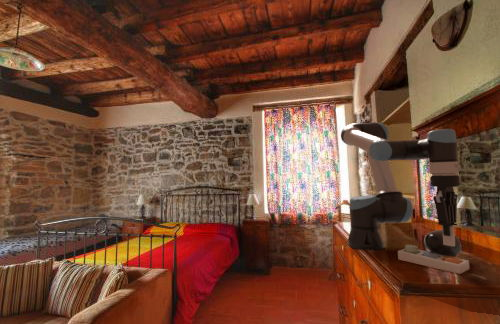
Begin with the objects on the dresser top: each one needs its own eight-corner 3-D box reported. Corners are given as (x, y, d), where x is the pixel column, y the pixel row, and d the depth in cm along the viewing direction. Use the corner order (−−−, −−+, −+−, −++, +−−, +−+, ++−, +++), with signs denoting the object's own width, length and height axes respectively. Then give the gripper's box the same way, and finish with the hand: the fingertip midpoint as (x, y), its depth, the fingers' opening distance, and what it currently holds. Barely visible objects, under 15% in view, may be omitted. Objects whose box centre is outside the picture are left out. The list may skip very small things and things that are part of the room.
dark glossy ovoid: (461, 264, 84) (445, 263, 76) (428, 250, 93) (411, 248, 85) (469, 238, 84) (454, 234, 77) (435, 227, 93) (419, 222, 85)
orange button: (442, 265, 76) (441, 257, 76) (447, 262, 78) (446, 255, 78) (458, 269, 73) (457, 260, 73) (462, 266, 75) (462, 258, 75)
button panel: (398, 259, 86) (397, 251, 86) (408, 255, 90) (408, 247, 90) (460, 275, 71) (459, 265, 71) (469, 270, 75) (468, 260, 75)
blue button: (421, 259, 81) (421, 252, 81) (427, 257, 83) (426, 250, 83) (435, 263, 78) (434, 255, 78) (440, 260, 80) (439, 253, 80)
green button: (403, 252, 86) (402, 245, 87) (408, 250, 88) (408, 244, 89) (415, 255, 83) (414, 248, 83) (420, 253, 85) (420, 246, 85)
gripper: (450, 175, 71) (455, 252, 70) (465, 174, 78) (471, 244, 77) (422, 175, 78) (427, 245, 76) (439, 174, 84) (443, 239, 83)
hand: (449, 245), depth 76 cm, fingers closed
